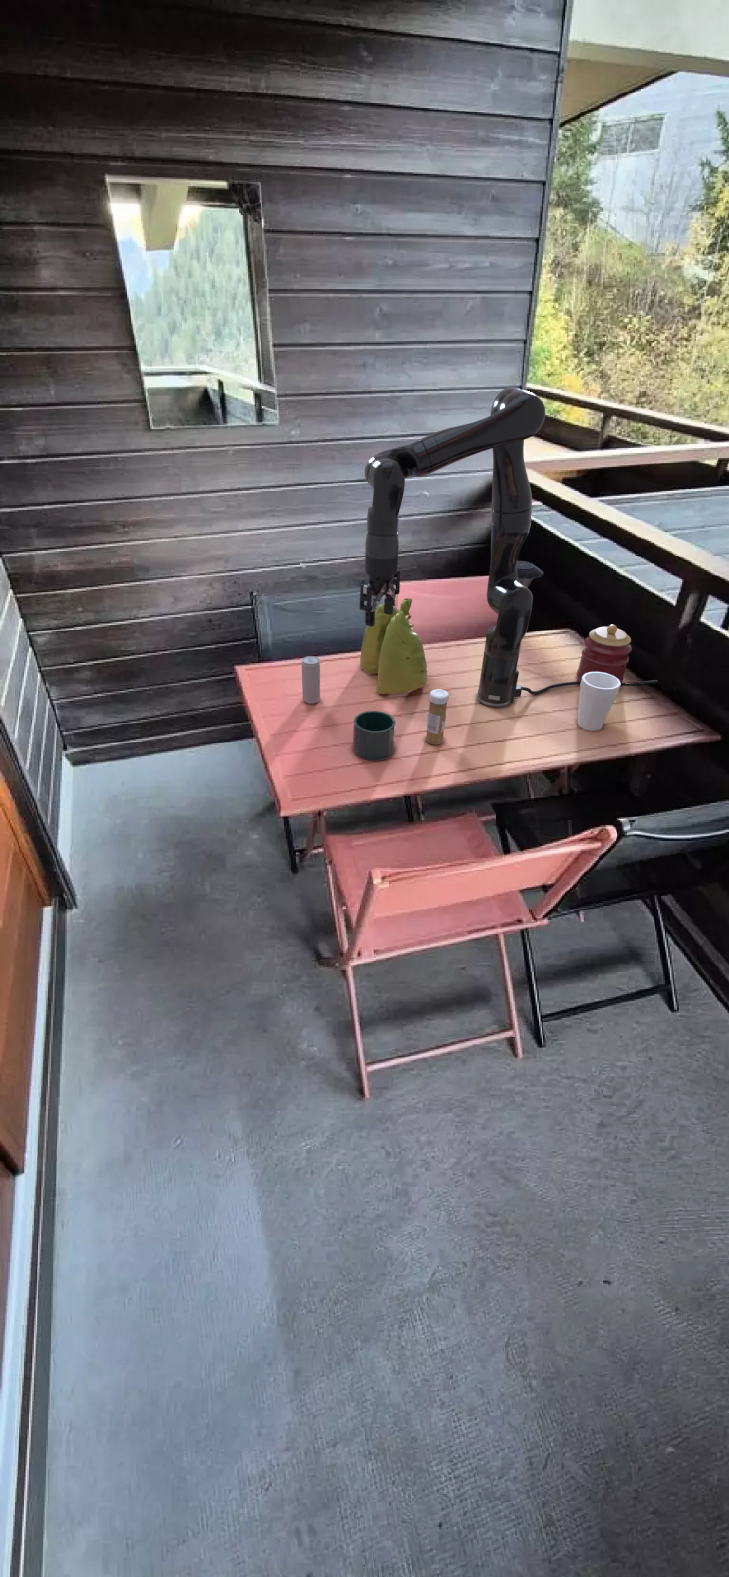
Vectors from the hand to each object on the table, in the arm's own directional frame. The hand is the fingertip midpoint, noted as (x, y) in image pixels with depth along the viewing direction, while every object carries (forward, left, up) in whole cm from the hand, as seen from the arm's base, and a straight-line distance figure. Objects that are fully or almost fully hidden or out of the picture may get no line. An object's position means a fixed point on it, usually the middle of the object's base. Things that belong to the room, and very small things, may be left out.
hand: (379, 619), depth 168 cm
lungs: (-9, -20, -27) cm, 35 cm away
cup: (+4, +16, -27) cm, 31 cm away
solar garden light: (-45, -25, -27) cm, 58 cm away
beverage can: (+16, -10, -27) cm, 33 cm away
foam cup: (-55, +12, -27) cm, 63 cm away
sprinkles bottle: (-12, +14, -27) cm, 33 cm away
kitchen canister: (-68, -10, -27) cm, 74 cm away
